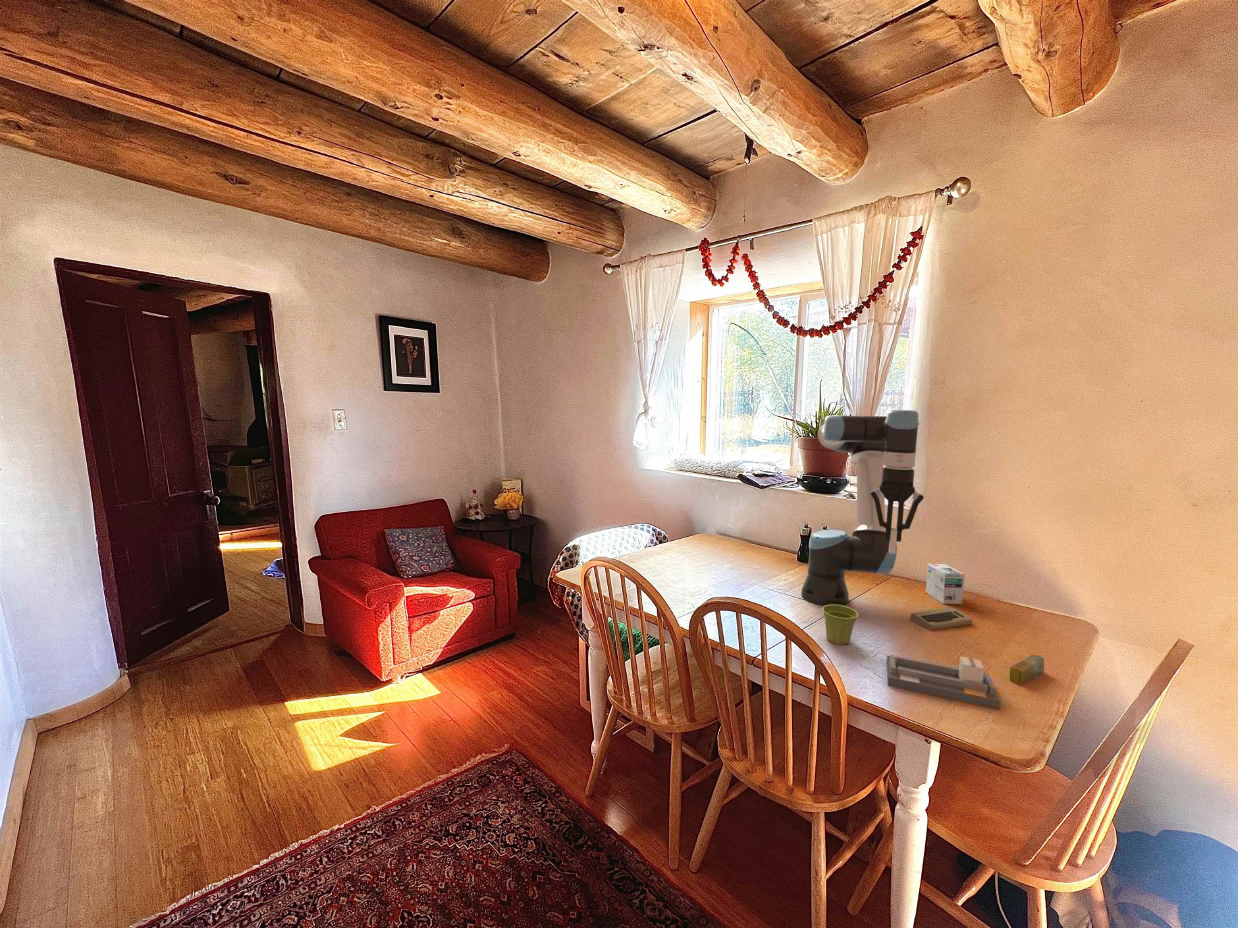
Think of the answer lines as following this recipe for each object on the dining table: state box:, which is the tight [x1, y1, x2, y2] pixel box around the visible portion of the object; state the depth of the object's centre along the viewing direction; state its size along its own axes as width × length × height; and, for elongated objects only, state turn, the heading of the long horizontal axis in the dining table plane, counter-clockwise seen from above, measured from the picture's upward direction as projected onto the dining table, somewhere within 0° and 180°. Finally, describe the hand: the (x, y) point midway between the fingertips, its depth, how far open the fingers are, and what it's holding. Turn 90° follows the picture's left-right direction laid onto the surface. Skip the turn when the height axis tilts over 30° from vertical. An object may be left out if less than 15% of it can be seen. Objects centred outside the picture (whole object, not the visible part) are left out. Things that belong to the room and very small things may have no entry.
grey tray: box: [885, 654, 1001, 711], centre depth 124 cm, size 22×12×4 cm, turn 64°
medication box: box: [1009, 654, 1045, 687], centre depth 127 cm, size 12×3×4 cm, turn 121°
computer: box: [909, 607, 973, 631], centre depth 158 cm, size 16×8×3 cm, turn 106°
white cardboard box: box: [958, 656, 985, 684], centre depth 121 cm, size 4×4×5 cm
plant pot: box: [822, 605, 859, 646], centre depth 146 cm, size 9×9×9 cm
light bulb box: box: [925, 563, 966, 605], centre depth 177 cm, size 11×7×11 cm, turn 179°
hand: (892, 552), depth 141 cm, fingers closed
